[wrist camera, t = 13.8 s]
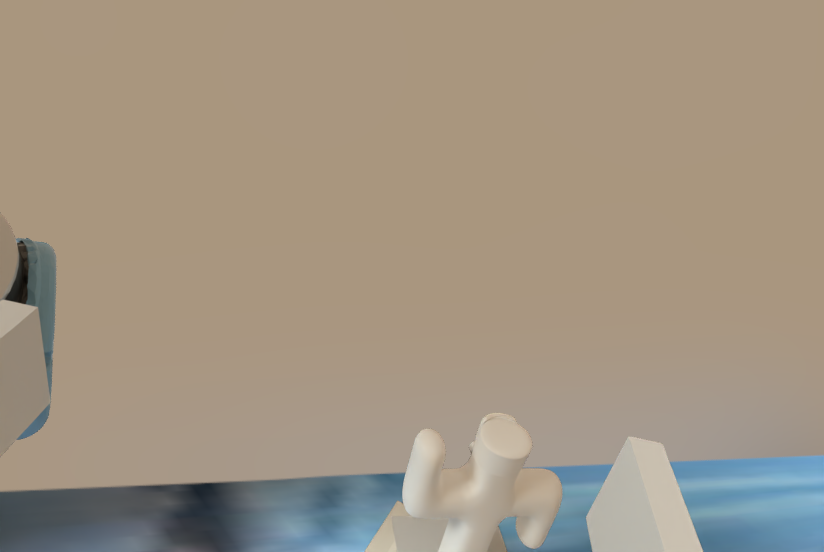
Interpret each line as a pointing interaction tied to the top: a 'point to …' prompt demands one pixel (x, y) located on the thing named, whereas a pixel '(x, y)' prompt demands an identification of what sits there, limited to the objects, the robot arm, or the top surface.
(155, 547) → the top surface
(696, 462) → the top surface
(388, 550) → the plinth
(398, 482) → the top surface
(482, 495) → the figurine
